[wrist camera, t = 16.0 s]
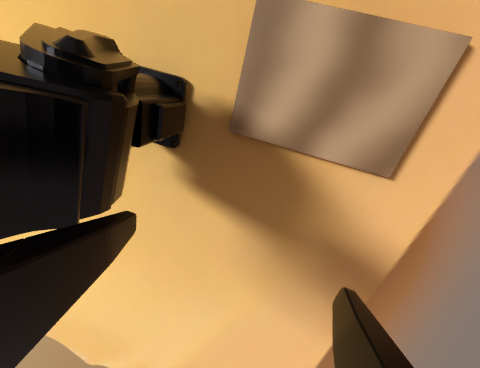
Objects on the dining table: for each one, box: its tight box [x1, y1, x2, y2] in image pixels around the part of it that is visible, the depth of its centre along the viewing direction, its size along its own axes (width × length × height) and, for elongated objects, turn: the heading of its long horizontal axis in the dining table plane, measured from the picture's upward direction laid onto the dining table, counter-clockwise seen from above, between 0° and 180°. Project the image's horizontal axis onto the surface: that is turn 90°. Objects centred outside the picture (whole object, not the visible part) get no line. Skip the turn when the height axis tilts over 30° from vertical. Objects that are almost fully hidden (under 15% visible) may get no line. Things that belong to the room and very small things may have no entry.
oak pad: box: [229, 0, 472, 178], centre depth 17 cm, size 14×10×1 cm
